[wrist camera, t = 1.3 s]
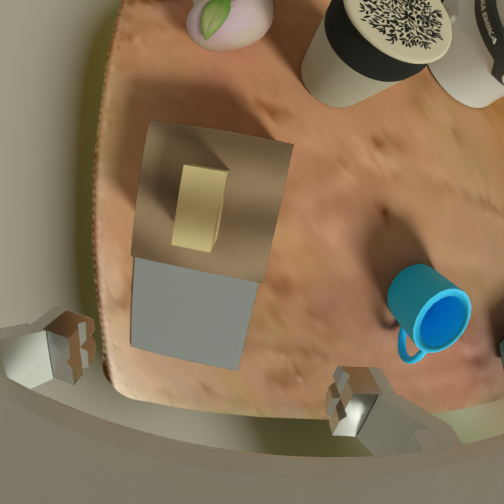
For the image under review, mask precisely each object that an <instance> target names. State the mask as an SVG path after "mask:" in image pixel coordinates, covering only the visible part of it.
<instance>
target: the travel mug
mask: <svg viewBox="0 0 504 504" xmlns="http://www.w3.org/2000/svg"><path fill="white" fill-rule="evenodd" d="M451 39H452V28H451V23H450V19H449V16H448V14H447V12H446V10H445V8H444V6H443V4H442V3H441V1H440V0H332V1H331V3H330V5H329V7H328V9H327V11H326V13H325V15H324V17H323V19H322V21H321V23H320V25H319V27H318V29H317V31H316V33H315V35H314V37H313V39H312V41H311V44H310V46H309V48H308V50H307V52H306V54H305V56H304V58H303V61H302V64H301V77H302V80H303V83H304V85H305V87H306V88H307V90H308V91H309V92H310V94H311V95H312V96H313V97H315V98H316V99H317V100H319V101H320V102H322V103H324V104H326V105H329V106H333V107H348V106H352V105H354V104H356V103H358V102H360V101H362V100H364V99H366V98H368V97H370V96H372V95H374V94H376V93H378V92H380V91H382V90H384V89H386V88H388V87H390V86H392V85H394V84H396V83H398V82H400V81H402V80H404V79H406V78H409V77H411V76H413V75H415V74H417V73H419V72H420V71H422V70H423V69H424V68H425V67H426V65H427V64H428V63H431V62H434V61H436V60H438V59H440V58H441V57H442V56H444V54H445V53H446V52H447V50H448V49H449V46H450V44H451Z"/></svg>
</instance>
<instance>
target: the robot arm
mask: <svg viewBox="0 0 504 504" xmlns="http://www.w3.org/2000/svg"><path fill="white" fill-rule="evenodd" d="M440 1H441V3H442V4H443V6H444V8H445V10H446V12H447V14H448V16H449V19H450V23H451V28H452V39H451V44H450V46H449V49H448V50H447V52H446V53H445V54H444V56H442V57H441V58H440V59H438V60H436V61H434V62H431V63H428V66H429V68H430V70H431V72H432V74H433V75H434V77H435V78H436V80H437V81H438V82H439V84H440V85H441V86H442V87H443V88H444V89H445V90H446V91H447V92H448V93H449V94H450V95H451V96H452V97H453V98H455V99H456V100H458V101H459V102H461V103H463V104H465V105H467V106H470V107H475V108H482V107H486V106H488V105H490V104H491V103H492V102H494V101H495V100H497V99H499V98H501V97H503V96H504V0H440ZM94 331H95V326H94V321H93V319H92V318H90V317H86V316H83V315H80V314H77V313H74V312H71V311H68V310H66V309H62V308H59V307H53V308H52V309H51V310H50V311H48V312H47V313H46V314H44V315H43V316H41V317H40V318H39V319H38V320H36V321H35V322H33V323H32V324H31V325H30V324H21V325H16V326H10V327H5V328H0V504H504V434H503V435H499V436H495V437H492V438H488V439H484V440H480V441H476V442H471V443H467V444H462V442H461V441H460V439H459V438H458V436H457V435H456V433H455V432H454V430H453V429H452V427H451V425H448V424H447V423H445V422H444V421H442V420H440V419H439V418H437V417H435V416H434V415H432V414H430V413H429V412H427V411H426V410H424V409H422V408H421V407H419V406H417V405H416V404H414V403H412V402H411V401H409V400H408V399H406V398H404V397H403V396H401V395H396V393H395V391H394V390H393V388H392V386H391V385H390V383H389V381H388V379H387V378H386V376H385V374H384V373H383V371H382V369H380V368H373V367H349V366H338V367H337V369H336V370H335V373H334V375H333V377H334V380H335V382H334V383H333V384H332V385H330V386H329V388H328V391H327V393H326V399H325V408H326V412H327V413H328V414H329V415H330V416H331V418H330V420H329V423H330V427H331V431H332V435H336V436H357V438H358V439H359V440H360V441H361V442H362V443H363V444H364V445H365V446H366V447H367V448H368V449H369V450H370V451H371V452H372V453H373V454H374V455H375V456H369V457H338V458H337V457H336V458H335V457H334V458H333V457H297V456H282V455H281V456H280V455H269V454H259V453H250V452H242V451H235V450H228V449H222V448H215V447H209V446H204V445H198V444H194V443H188V442H184V441H179V440H175V439H171V438H166V437H162V436H158V435H154V434H151V433H146V432H143V431H139V430H136V429H133V428H129V427H126V426H123V425H120V424H117V423H113V422H110V421H107V420H105V419H101V418H98V417H96V416H93V415H90V414H88V413H85V412H82V411H80V410H77V409H75V408H72V407H70V406H67V405H65V404H62V403H60V402H58V401H55V400H53V399H51V398H49V397H46V396H44V395H42V394H40V393H37V392H35V391H33V390H31V388H33V387H35V386H37V385H40V384H42V383H44V382H47V381H49V380H51V379H53V377H54V378H56V379H59V380H62V381H65V382H67V383H70V384H73V385H75V384H76V382H77V381H78V380H79V379H80V377H81V376H82V375H83V368H86V367H89V366H90V364H91V363H92V362H93V359H94V356H95V350H96V342H95V340H94V338H93V337H92V333H93V332H94Z"/></svg>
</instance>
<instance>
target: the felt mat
mask: <svg viewBox="0 0 504 504" xmlns="http://www.w3.org/2000/svg"><path fill="white" fill-rule="evenodd" d="M257 287H258V283H257V282H252V281H247V280H242V279H237V278H232V277H227V276H222V275H217V274H212V273H207V272H202V271H197V270H193V269H188V268H183V267H178V266H174V265H169V264H164V263H160V262H155V261H151V260H146V259H141V258H137V257H135V263H134V277H133V295H132V322H131V347H135V348H138V349H142V350H146V351H150V352H153V353H157V354H161V355H165V356H170V357H174V358H178V359H182V360H187V361H191V362H196V363H201V364H205V365H210V366H215V367H221V368H226V369H231V370H237V371H238V368H239V363H240V359H241V355H242V351H243V347H244V342H245V338H246V334H247V330H248V325H249V321H250V317H251V312H252V308H253V304H254V300H255V295H256V291H257Z"/></svg>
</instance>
